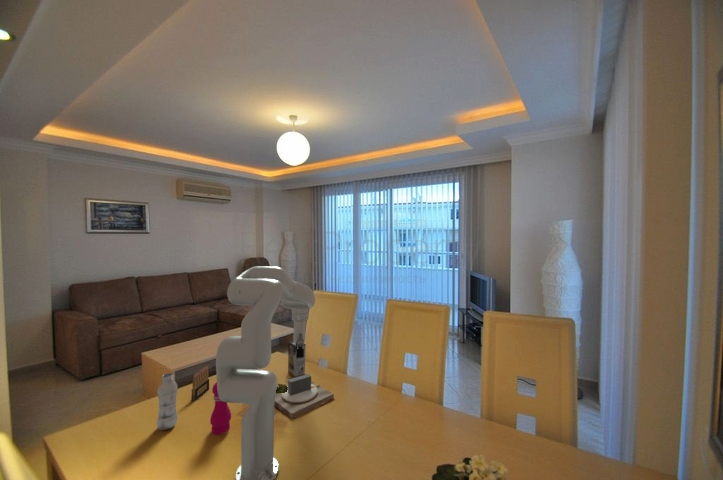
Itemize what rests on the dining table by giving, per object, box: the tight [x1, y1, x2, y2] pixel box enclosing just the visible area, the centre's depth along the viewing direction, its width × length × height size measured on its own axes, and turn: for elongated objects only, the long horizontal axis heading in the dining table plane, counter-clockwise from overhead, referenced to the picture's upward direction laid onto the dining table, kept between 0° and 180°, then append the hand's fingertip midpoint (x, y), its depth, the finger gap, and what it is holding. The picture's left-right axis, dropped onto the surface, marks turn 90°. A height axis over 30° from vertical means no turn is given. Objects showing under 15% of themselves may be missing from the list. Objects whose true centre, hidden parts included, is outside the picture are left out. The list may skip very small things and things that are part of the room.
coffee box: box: [287, 340, 307, 377], centre depth 162 cm, size 9×6×16 cm
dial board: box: [274, 380, 334, 419], centre depth 135 cm, size 22×22×2 cm
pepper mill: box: [209, 381, 232, 436], centre depth 113 cm, size 7×7×20 cm
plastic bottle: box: [156, 372, 179, 431], centre depth 114 cm, size 6×7×20 cm
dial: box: [282, 373, 317, 403], centre depth 135 cm, size 16×16×7 cm
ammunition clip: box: [190, 365, 210, 402], centre depth 138 cm, size 11×2×12 cm, turn 175°
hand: (299, 353), depth 135 cm, fingers open, 9 cm apart
